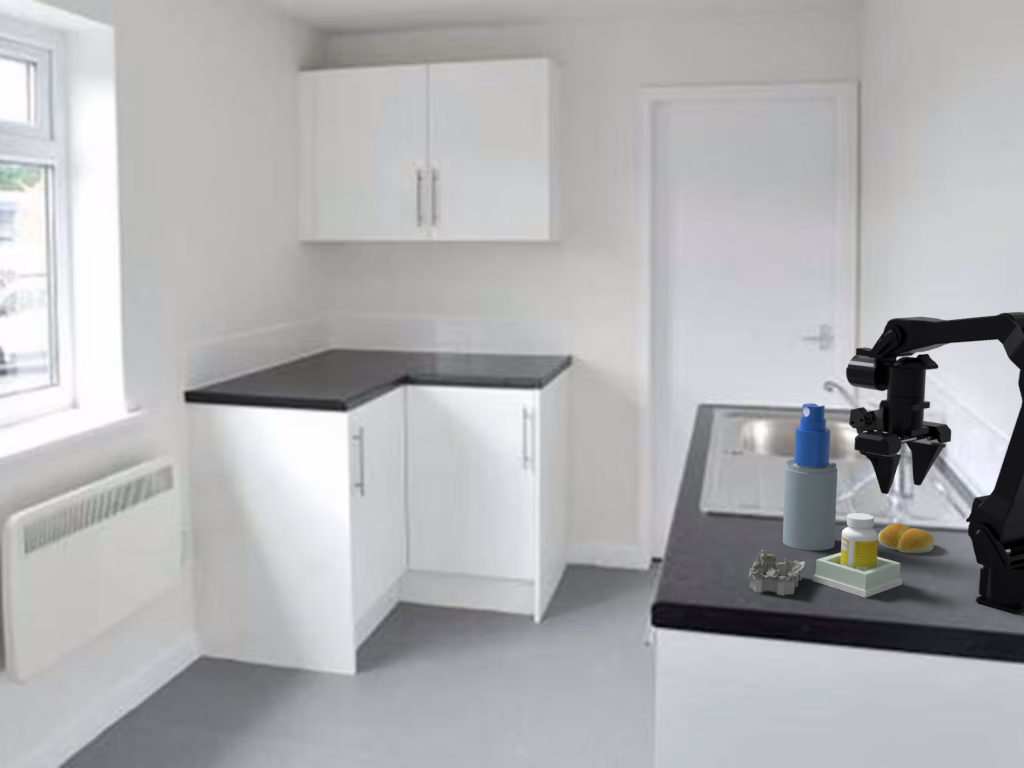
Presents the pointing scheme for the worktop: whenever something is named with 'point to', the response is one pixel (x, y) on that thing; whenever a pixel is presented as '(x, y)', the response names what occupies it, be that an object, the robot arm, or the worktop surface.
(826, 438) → the spray bottle
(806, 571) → the worktop surface
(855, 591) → the socket block
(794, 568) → the egg carton
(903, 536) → the bread roll
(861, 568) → the supplement bottle
